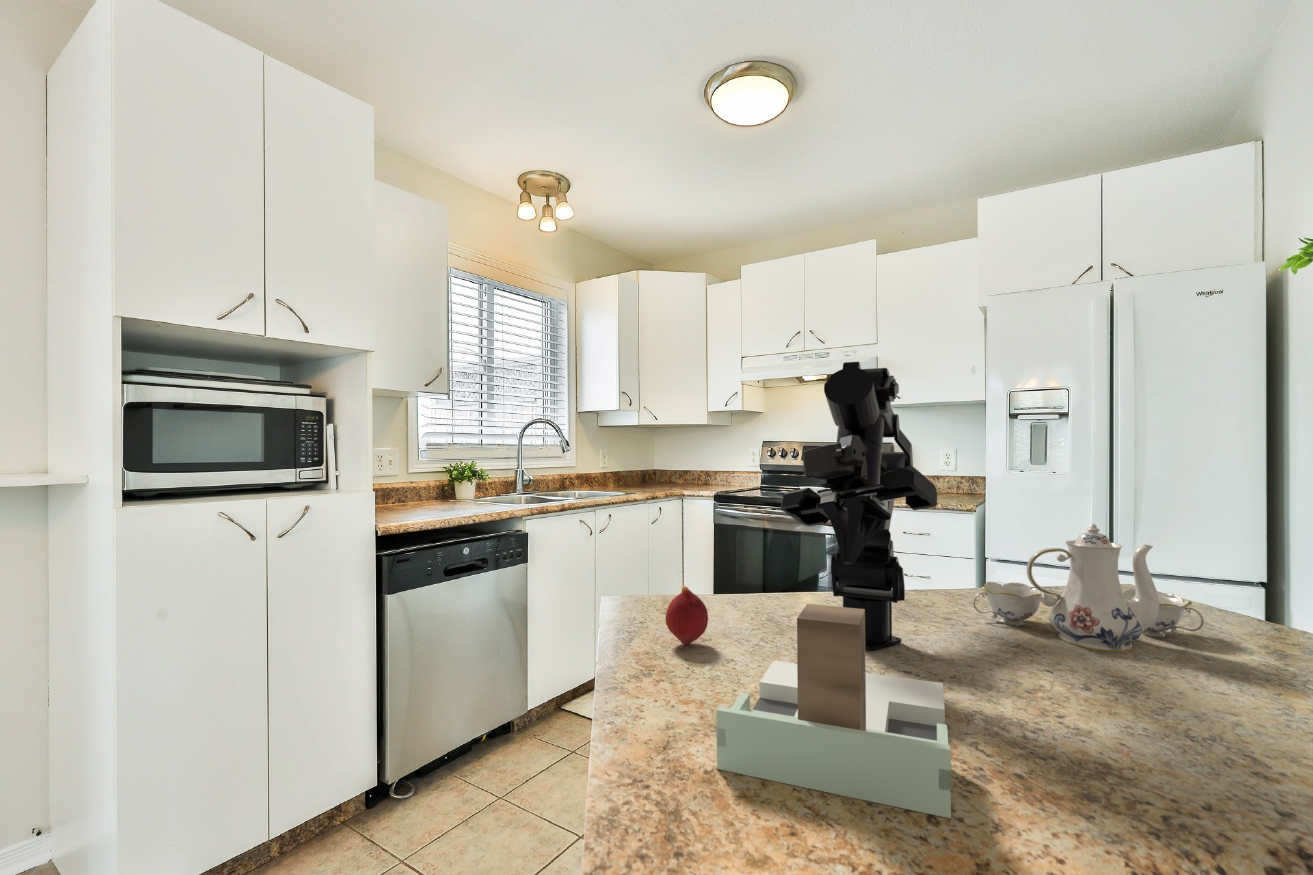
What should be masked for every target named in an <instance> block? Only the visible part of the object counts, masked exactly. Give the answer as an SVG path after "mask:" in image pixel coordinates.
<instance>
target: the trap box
mask: <svg viewBox="0 0 1313 875" xmlns="http://www.w3.org/2000/svg"><path fill="white" fill-rule="evenodd" d="M944 696H945V695H944V684H943V682H936V681H929V680H920V679H914V678H906V677H898V676H892V675H885V674H877V673H870V672H866V731H862V730H856V729H850V728H844V727H839V726H833V725H827V724H821V723H815V722H809V721H803V720H798V681H797V662H796V663H793V662H788V661H779V660H773V662H771V664H770V666H769V667H768V668H767V670H766V671H765V673H764V675H763V676H762V678H761V680H759V698H758V700H757V701H756V703H755V704H754V706H753V707H752V709H751V693H749V692H743V691H742V692H741V693H740V695H739V696H738V697H737V699H736V700H735V701H734V703H733V704H732V706H731V707H727V706H726V707H725V706H720V705H719V706H718V707H717V708H716V770H720V771H725V772H730V773H734V774H739V775H744V776H749V777H753V778H758V779H763V780H766V781H767V780H768V781H771V782H776V783H782V784H787V785H791V786H795V787H800V788H806V789H809V790H810V789H811V790H815V791H820V792H824V793H829V794H834V795H839V796H843V797H848V798H853V799H858V800H862V801H867V802H872V803H877V804H880V805H886V806H891V807H895V808H900V809H904V810H910V811H915V812H919V813H924V814H927V815H933V816H937V817H943V818H947V819H952V792H951V791H952V784H951V783H952V781H951V780H952V778H951V777H952V776H951V772H952V770H951V745H950V744H949V736H948V735H949V734H948V733H949V732H948V725H947V724H946V722H945V721H946V718H945V715H946V714H945V712H946V711H945V709H946V708H945V698H944Z"/></svg>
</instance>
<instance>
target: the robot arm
mask: <svg viewBox="0 0 1313 875" xmlns="http://www.w3.org/2000/svg"><path fill="white" fill-rule="evenodd" d="M860 363H861V362H860V361H846V362H843V364H842V369H839V370H837V371H835V372H834V373H833V374H831V375H830V376H829V377H828V379H827V380H826V381H825V383H824V385H823V391H824V395H825V398H826V402H827V405H828V408H829V411H830V415H831V417H832V419H833V423H834V425H835V426H837V427H838V428H837V434H836V435H837V436H836V443H833V444H827V445H826V444H825V445H822V446H818V447H814V448H810V449H807V450H803V451H802V462H803V464H802V465H803V475H804V478H806V479H810V478H811V479H813V478H814V479H817V480H820V483H819V484H820V485H821V487H823V488H824V489H830V490H826V491H821V492H819V493H818V492H816V491H814V490H813V489H812V488H810V487H805V488H799V489H796V490H790V491H788V492H786V493H784V494H782V499H781V505H780V510H781V511H782V512H783V513H785V514H787V515H788V516H789V517H791V518H792V519H794V520H795V521H797V522H799V523H800V524H801V525H803V526H804V527H805V526H806V527H814V526H821V525H826V524H827V523H828V521H830V524H831V526H832V529H833V531H834V535H835V538H836V543H837V547H836V551H834V552H832V554H831V561H830V571H831V575H830V576H831V584H832V594H833V596H832V597H842V607H847V608H857V609H865V650H867V651H868V650H869V651H875V650H877V649H882V648H885V647H889V646H893V645H897V644H901V643H902V638H900V637H897V636H895V635H893V626H892V625H893V622H892V621H893V618H892V617H893V616H892V615H893V613H892V612H893V610H892V603H894V604H897V603H898V602H901V601H905V600H906V599H905V597H906V593H905V592H906V591H905V590H906V589H905V588H906V586H905V575H904V568H903V567H902V566H901V565H900V564H901V563H900V562H899V558H898V556H895V554H894V552H895V551H894V542H893V540H892V537H891V535H892V534H891V533H892V532H890V528H891V521H892V516H893V510H894V506H895V505H894V504H895V501H896V500H895V499H900V498H905V505H907V506H908V507H910V508H911V510H913V511H918V510H919V511H920V510H926V509H931V508H935V507H936V506H937V505H938V490H937V487H936V485H935V484H934V483H933V482H932V481H931V480H930V479H928V478H927V477H926V476H925V475H924V474H922V473H921V472H920V471H919V470H918V469H917V468H915V467H914V460H913V459H914V457H913V445H912V442H911V441H910V440H909V439H908V437H907V436H906V435H905V433H904V432H903V431H902V430H901V428H900V427H901V426H900V417H899V414H898V413H897V414H895V412H894V411H893V408H892V406H891V402H893V403H894V402H895V400H896V399H897V395H898V394H899V391H900V386H899V383H898V382H897V379H896V378H895V376H894V375H890V371H889V369H888V368H887V367H877V368H876V367H875V368H872V367H871V368H862V367H861V364H860ZM885 438H893V439H894V442H895V443H896V445H897V446H898V447H899V448H900V449H901V450H902V451H883V444H884V443H883V441H884V439H885Z"/></svg>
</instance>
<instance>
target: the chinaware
mask: <svg viewBox="0 0 1313 875" xmlns="http://www.w3.org/2000/svg"><path fill="white" fill-rule="evenodd" d="M1086 531H1087V532H1082V533H1081V534H1079V535H1078V537H1077V539H1073V540H1066V541H1064V543H1065V544H1066V546H1067V550H1066V549H1065V548H1060V547H1048V548H1047V547H1046V548H1042V549H1040V550H1038V551H1036V552H1034V553H1033V554H1032V555H1031V557H1030V558H1029V560H1028V561H1027V564H1026V575H1027V579H1028V581H1029V582H1030V584H1031V585H1032V586H1033V587H1034V588H1031V587H1030V586H1029V585H1027V584H1024V583H1020V582H1008V583H1005V584H1003V585H1002V584H1000V583H999V582H998V583H997V582H995V581H986V582H985V583H984V584H983V586H980V589H981V591H982V592H979V593H978V592H977V593H976V594H975V595H974V597H973V598H972V607H973V608H974V610H975V611H976V612H977V613H980V614H987V613H992V614H991V619H993V620H997V618H998V616H999V617H1001V618H1002V619H999V621H1001V622H1002V623H1003V624H1004V625H1006V624H1007V625H1013V626H1016V627H1019V626H1024V625H1027V623H1025V622H1024V621H1025V620H1028V619H1030V618H1031V617H1032V616H1034V615H1035V614H1036V612H1037V611H1038V609H1039V607H1040V603H1042V604H1043V605H1045V606H1046V607H1051V610H1050V613H1049V616H1048V621H1049V622H1050V624H1051V625H1052V627H1053V628H1054V629H1055V630H1056V631H1057V632H1059V633H1058V634H1057V637H1058V639H1059V640H1060V641H1062V642H1064V643H1067V644H1069V645H1073V646H1076V647H1079V648H1083V649H1089V650H1095V651H1102V652H1127V651H1130V650H1133V648H1134V646H1133V644H1132V643H1133V642H1135V641H1136V640H1138V639H1139V638H1140V637H1141V635H1146V636H1148V637H1162V638H1166V635H1167V633H1166V631H1168V630H1170V632H1171V633H1172V634H1173V635H1178V634H1179V631H1178V629H1182V630H1185V631H1189V632H1197V631H1199V630H1200V629H1202V628H1203V627H1204V623H1205V620H1204V617H1203V615H1202V613H1201V612H1200V611H1199V610H1197V609H1195V608H1192V607H1191V606H1192V605H1193V603H1192V601H1190V600H1183V599H1182V598H1181V597H1180V596H1179V595H1176V594H1174V593H1163V592H1162V593H1158V591H1157V588H1156V586H1155V582H1154V581H1153V578H1152V575H1151V572H1150V569H1149V567H1148V564H1147V560H1146V558H1147V555H1148V553H1149V551H1151V549H1152V548H1153V547H1154V546H1153V545H1149V544H1143V545H1141V546H1139V547H1138V548H1136V550H1135V551H1134V552H1133V556H1132V571H1133V579H1134V585H1135V589H1134V588H1133V589H1127V590H1125V591H1123V589H1122V586H1121V581H1120V579H1119V578H1120V577H1119V557H1120V554H1121V553H1120V552H1121V549H1122V548H1123V547H1124V546H1123V545H1121V544H1118V543H1116V542H1111V541H1110V539H1109V538H1108V536H1107V535H1105V534H1103V533H1101V532H1100V531H1101V530H1100V528H1098V527H1097V525H1096V524H1095V523H1091V524H1090V525H1089V527H1087V528H1086ZM1056 552H1062V553H1064V554H1066V555H1064V554H1062V553H1058V554H1057V555H1056V560H1057V561H1058V562H1060V563H1063V562H1066V560H1069V574H1068V579H1067V583H1066V586H1065V589H1064V590H1063V592H1062V594H1060V593H1058V592H1057V591H1053V590H1049V589H1046V588H1045V587H1042V586H1041V585H1039V584H1038V583H1037V581H1036V580H1035V578H1034V576H1033V570H1032V569H1033V566H1034V563H1035V561H1036V560H1037V559H1039V557H1041V556H1043V555H1044V554H1048V553H1056ZM980 595H981V597H982V598H983V599H985V597H986V600H987V603H988V605H989V607H990V608H991V609H992V610H986V611H981V610H979V609H978V608H977V606H976V599H977V598H978V597H979V596H980ZM1051 595H1053V596H1055V597H1053V596H1051ZM1185 611H1186V612H1187V613H1188V614H1191V613H1192V611H1193V612H1194V613H1197V614H1198V616H1199V617H1200V620H1201V621H1200V624H1199V626H1198V627H1196V628H1187V627H1185V626H1181V625H1178V624H1179V623H1180V622H1181V620H1182V617H1183V614H1184V612H1185Z"/></svg>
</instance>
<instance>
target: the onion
mask: <svg viewBox="0 0 1313 875" xmlns="http://www.w3.org/2000/svg"><path fill="white" fill-rule="evenodd" d="M664 619H665V624H666V626H667V629H668V630H669V632H670V634H672V635H673V636H674V637H675V638H676V639H677V640H678V641H679V642H680V643H681V644H682V645H685V646H688V645H690V644H692V643H693V642H695V641H697V639H699V638H701V637H702V635H703V634H704V633H705V632H706V630H707V628H708V624H709V622H708V621H709V612H708V609H707V607H706V605H705V603H704V602H703V600H702V599H701V598H700V597H699V596H698V595H697V594H694V592H693V591H691V589H689V587H688V586H686V585H682V587H681V592H680V593H679V594H677V595H676V596H675V597H674V598H673V599H672V600H671V601H670V603H669V604H668V605H667V609H666V612H665V617H664Z"/></svg>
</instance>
